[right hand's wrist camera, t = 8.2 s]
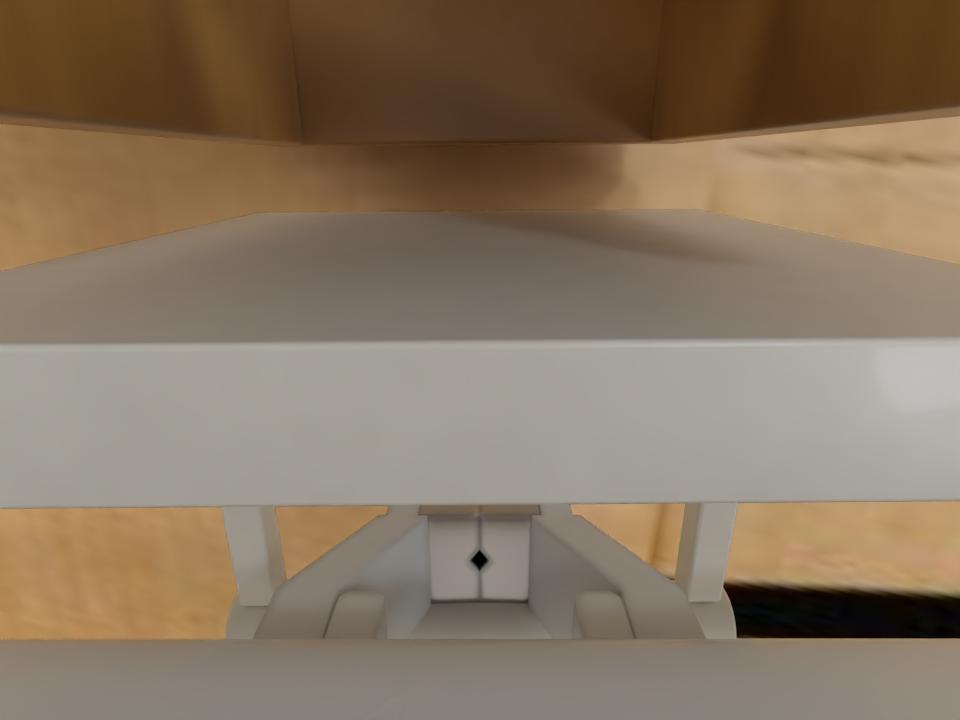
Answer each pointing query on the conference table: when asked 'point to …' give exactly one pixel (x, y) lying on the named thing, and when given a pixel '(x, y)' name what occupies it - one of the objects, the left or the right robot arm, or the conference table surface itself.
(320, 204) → the conference table surface
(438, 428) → the drawer
